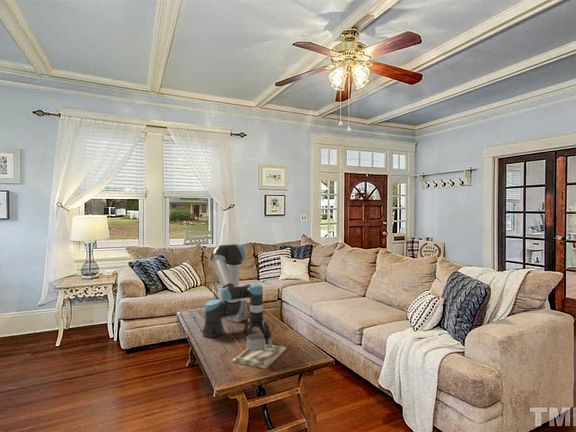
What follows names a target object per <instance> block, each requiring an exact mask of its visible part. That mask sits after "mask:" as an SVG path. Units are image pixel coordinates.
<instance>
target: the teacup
mask: <svg viewBox="0 0 576 432" xmlns="http://www.w3.org/2000/svg"><path fill="white" fill-rule="evenodd" d="M264 339H265V337H264V335H263V334H262V333H260V332H259V333H252V334H251V333H250V334H249V335H248V336H247V341H246V347H247V346H248V347H247V348H249V349H250V350H251V351H260V350H262V349H263V348H264Z"/></svg>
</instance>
